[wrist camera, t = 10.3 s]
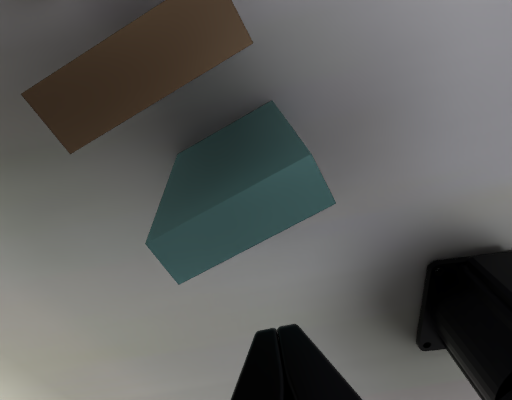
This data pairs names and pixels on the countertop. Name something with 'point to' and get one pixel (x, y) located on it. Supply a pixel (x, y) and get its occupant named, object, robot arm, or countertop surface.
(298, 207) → the tile
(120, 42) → the brown wooden block
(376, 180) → the countertop surface
